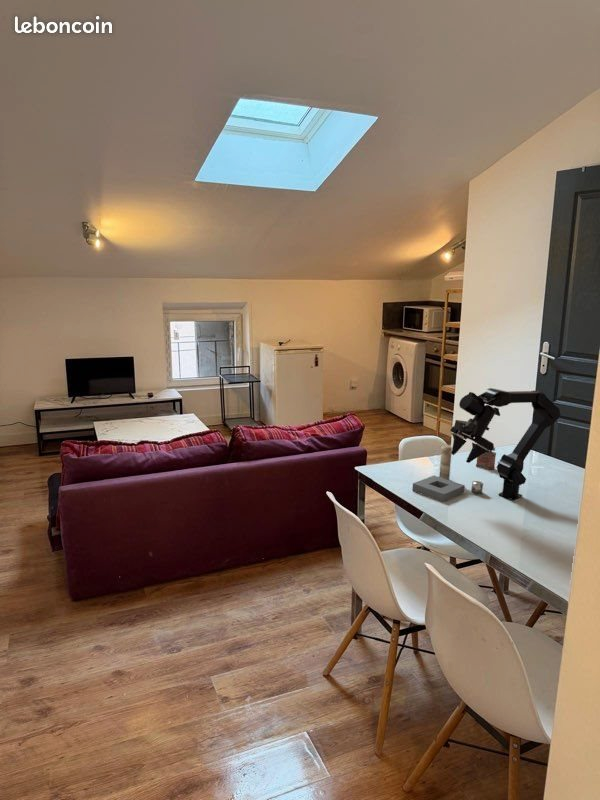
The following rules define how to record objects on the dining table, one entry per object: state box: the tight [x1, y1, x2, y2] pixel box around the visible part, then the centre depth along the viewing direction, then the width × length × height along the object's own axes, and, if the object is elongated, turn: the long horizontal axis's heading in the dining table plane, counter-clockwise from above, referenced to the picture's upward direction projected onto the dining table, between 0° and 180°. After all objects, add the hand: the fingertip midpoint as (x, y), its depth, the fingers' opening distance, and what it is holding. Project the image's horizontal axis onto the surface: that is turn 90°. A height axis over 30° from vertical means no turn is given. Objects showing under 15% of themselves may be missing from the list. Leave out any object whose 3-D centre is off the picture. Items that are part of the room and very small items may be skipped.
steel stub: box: [471, 480, 484, 496], centre depth 203 cm, size 4×4×4 cm
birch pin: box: [438, 445, 453, 480], centre depth 215 cm, size 4×4×14 cm
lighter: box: [475, 447, 497, 471], centre depth 230 cm, size 8×3×10 cm, turn 55°
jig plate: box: [411, 475, 466, 502], centre depth 203 cm, size 14×14×3 cm
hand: (459, 458), depth 190 cm, fingers open, 9 cm apart
